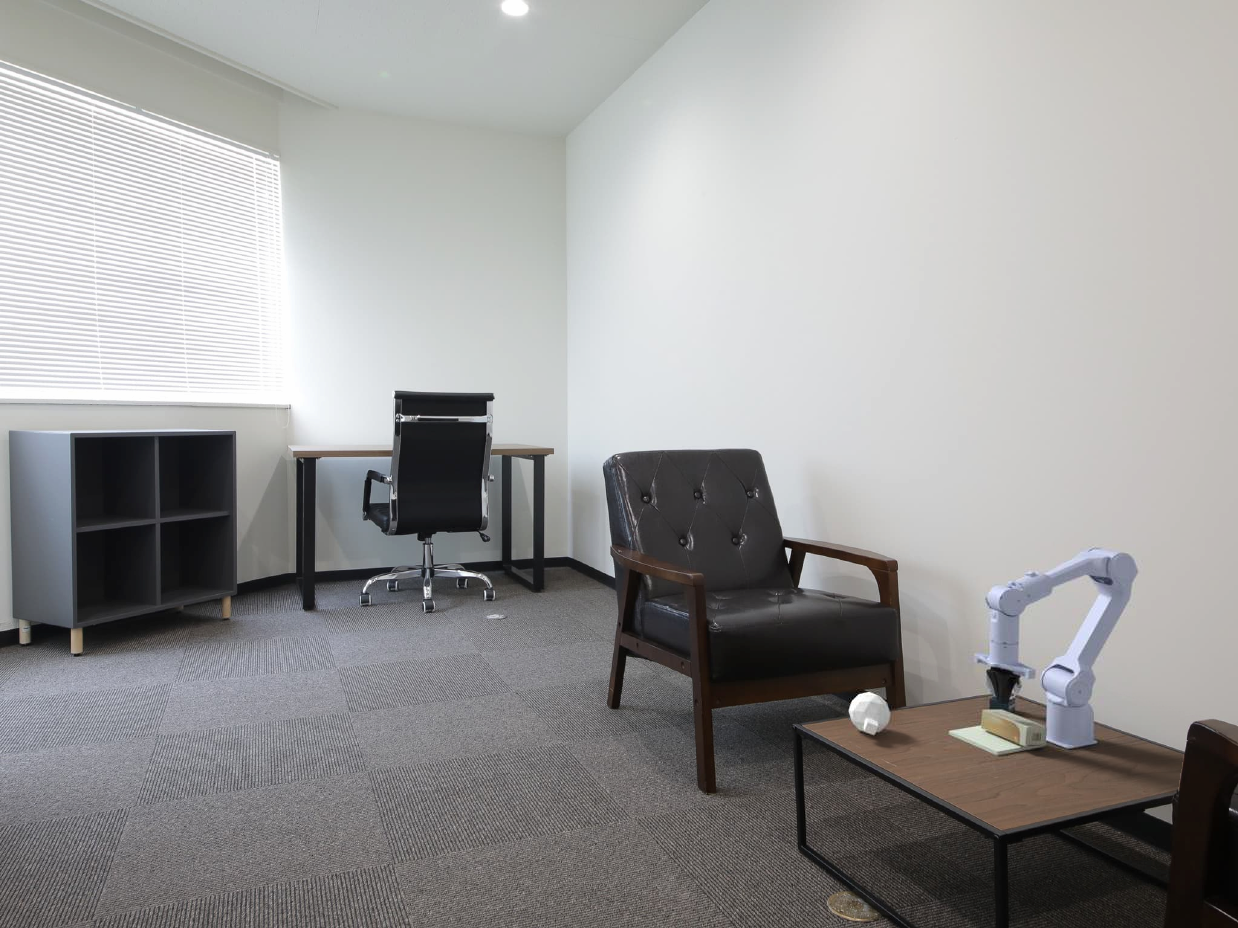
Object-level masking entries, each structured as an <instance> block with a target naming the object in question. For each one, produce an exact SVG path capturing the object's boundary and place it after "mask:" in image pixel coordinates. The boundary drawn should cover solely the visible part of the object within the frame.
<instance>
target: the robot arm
mask: <svg viewBox="0 0 1238 928" xmlns="http://www.w3.org/2000/svg"><path fill="white" fill-rule="evenodd" d="M1138 573H1139V570H1138V567H1137V565H1136V562H1135V560H1134V558H1133V556H1132V555H1130V554H1128V553H1126V552H1122V551H1121V552H1119V551H1112V550H1108V549H1102V548H1100V547H1090V548H1089V549H1087V550H1084V551H1081V552H1079V553H1078V555H1076V556H1075V557H1072V558H1070V559H1069V560H1067V561H1065V562H1064V563H1062V564H1060V565H1057V566H1056V567H1054V568H1052V569H1050V570H1048V571H1047V572H1045V573H1043V572H1041V571H1033V570H1029V571H1027V572H1026V573H1025V576H1023V577H1020V578H1018V579H1015V580H1014V581H1013V580H1009V581H1007V584H1006V585H1005V586H1004V585H1001V584H1000V585H999V584H998V585H996V586H993V587H992V588H991V589H990V590H989V592H988V593H987V596H985V597H984V600H985V604H986V606H987V608H988V609H989V616H990V624H989V626H990V627H989V629H990V630H989V654H987V653H983V652H979V653H977V652H976V653H974V654H973V663H976V664H983V665H986V666H989V667H990V668H989V669H986V672H985V673H986V674H987V675H988V676H989V678H990V680H991V683H992V685H993V688H994V691H995V695H996V700H997V703H1000V704H1007V703H1009V699H1010V697H1012V696H1011V695H1012V693H1013V691H1014V689H1013V688H1014V686H1015V684H1016V683H1017V681H1018V680H1019V678H1020V679H1021V677H1024V679H1027V680H1033V679H1036V671H1037V669H1035V668H1032V667H1030V666H1028V665H1025V664H1023V663H1022V662H1019V653H1020V651H1019V647H1020V646H1019V645H1020V644H1019V643H1020V642H1019V641H1020V615H1022V614H1023V612H1024V611H1025V609H1026V608H1027V606H1029V605H1031V604H1033V603H1036V602H1038V601H1040V600H1042V599H1044V598H1046V597H1047V598H1048V596H1051V594H1052V593H1053V588H1055V587H1057V586H1060V585H1063V584H1065V583H1067V582H1071V581H1074V580H1076V579H1079V578H1081V577H1084V576H1088V577H1089V578H1090V580H1091V581H1092V582H1093V584H1094V585H1095V586H1096V589H1097V591H1098V596H1097V598H1096V599H1095V601H1094V603H1093V605H1092V606H1091V608H1090V610H1089V612H1088V614H1087V616H1086V617H1085V619H1084V621H1083V623H1082V624H1081V625H1080V628H1079V630H1078V632H1077V634H1076V635H1075V637H1074V639H1073V641H1072V642H1071V644H1070V646H1069V648H1068V649H1067V652H1066V653H1065V654H1064V655H1061V656H1058V657H1056V658H1054V660H1053V661H1052V663H1051V664H1050V665H1049V666H1048V667H1046V668H1045V669H1044V670H1043V671H1042V673H1041V675H1040V678H1039V680H1040V686H1041V688H1042V689H1043V690H1044V691H1045V696H1046V721H1045V722H1046V723H1045V726H1046V727H1047V736H1046V742H1049V743H1051V744H1055V745H1057V746H1059V747H1062V748H1064V749H1067V750H1070V749H1074V748H1081V747H1085V746H1090V745H1095V744H1097V743H1098V741H1097V740H1095V739H1094V738H1095V736H1094V733H1095V732H1094V731H1095V712H1094V710H1093V707H1092V705H1091V704H1090V703H1089V701H1090V700H1091V698H1092V695H1093V687H1094V684H1095V683H1096V680H1097V679H1096V676H1095V673H1094V671H1093V668H1092V667H1093V666H1094V664H1095V663H1096V660H1097V658H1098V657H1099V655H1100V653H1101V651H1102V649H1103V648H1104V646H1105V645H1106V642H1107V641H1108V639H1109V637H1110V635H1111V633H1112V632H1113V629H1114V628H1115V626H1116V624H1117V623H1118V622H1119V619H1120V617H1121V615H1122V614H1123V612H1124V610H1125V609H1126V607H1127V605H1128V603H1129V601H1130V600H1131V596H1132V587H1133V582H1134V581H1135V579H1136V578H1137V575H1138Z"/></svg>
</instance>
